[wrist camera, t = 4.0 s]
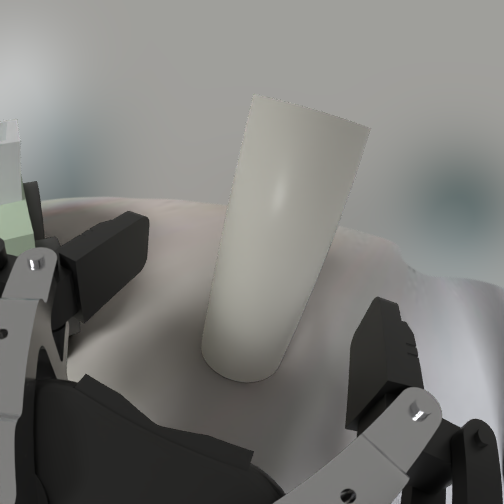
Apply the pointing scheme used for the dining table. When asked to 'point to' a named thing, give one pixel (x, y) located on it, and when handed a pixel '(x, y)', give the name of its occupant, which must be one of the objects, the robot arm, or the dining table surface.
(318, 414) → the dining table surface
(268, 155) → the spout tube
